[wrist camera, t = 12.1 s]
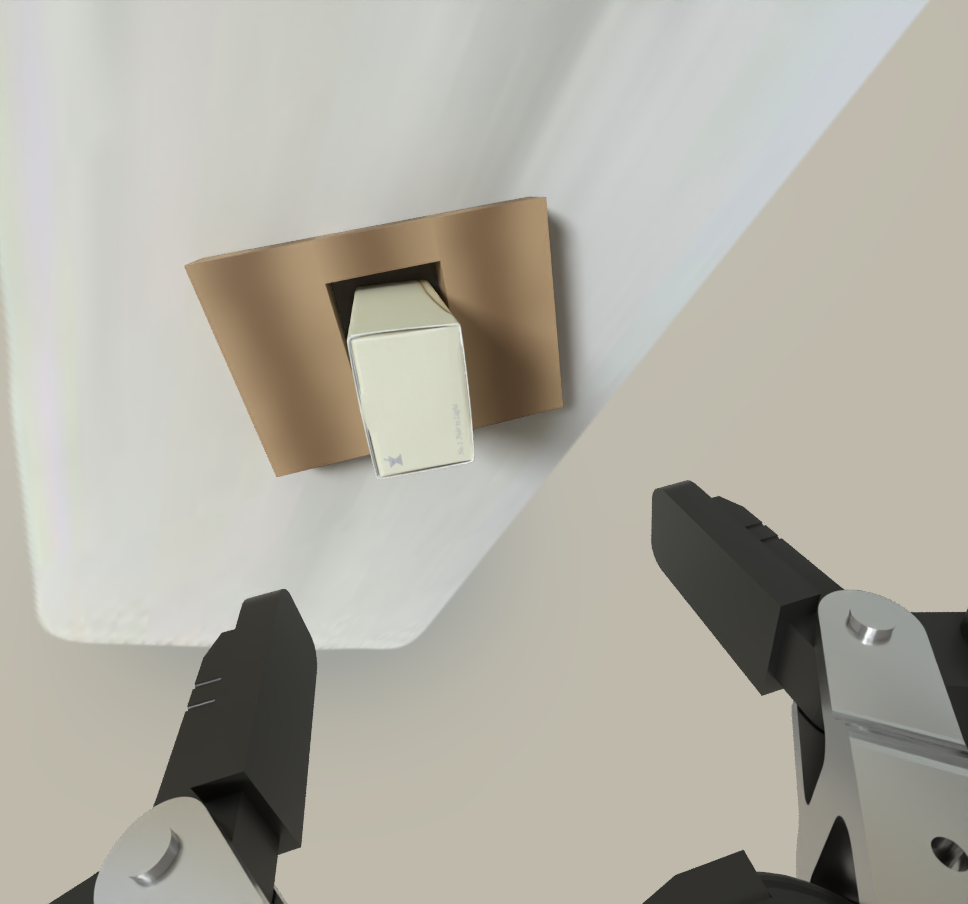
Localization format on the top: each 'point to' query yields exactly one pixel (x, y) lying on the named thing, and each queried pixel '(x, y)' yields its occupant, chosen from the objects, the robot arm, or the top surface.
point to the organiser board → (323, 342)
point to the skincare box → (410, 378)
